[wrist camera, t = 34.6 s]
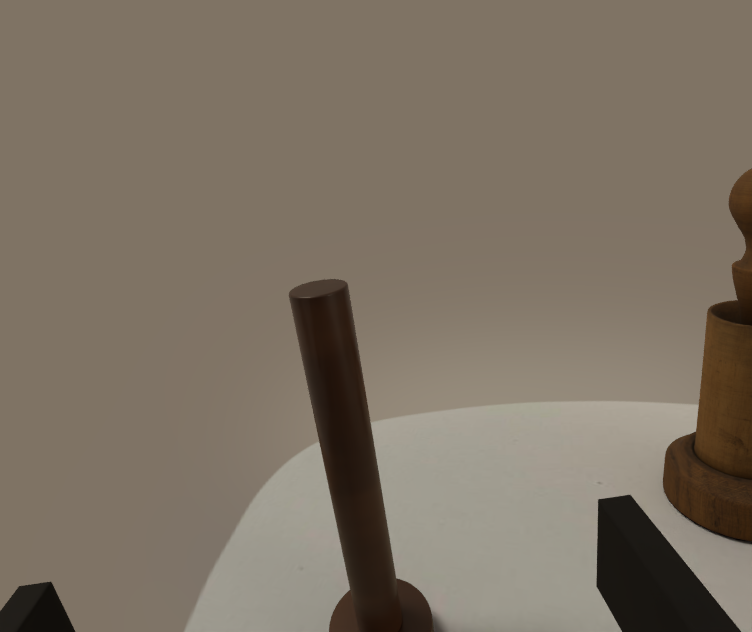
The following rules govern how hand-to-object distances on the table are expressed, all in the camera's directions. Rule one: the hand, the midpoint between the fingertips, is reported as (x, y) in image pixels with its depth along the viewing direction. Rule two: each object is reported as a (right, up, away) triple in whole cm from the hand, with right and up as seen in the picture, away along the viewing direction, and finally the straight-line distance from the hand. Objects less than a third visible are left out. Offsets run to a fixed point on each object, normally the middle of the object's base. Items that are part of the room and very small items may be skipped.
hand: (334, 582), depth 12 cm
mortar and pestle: (+21, -4, +15) cm, 26 cm away
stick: (+1, -8, +10) cm, 13 cm away
